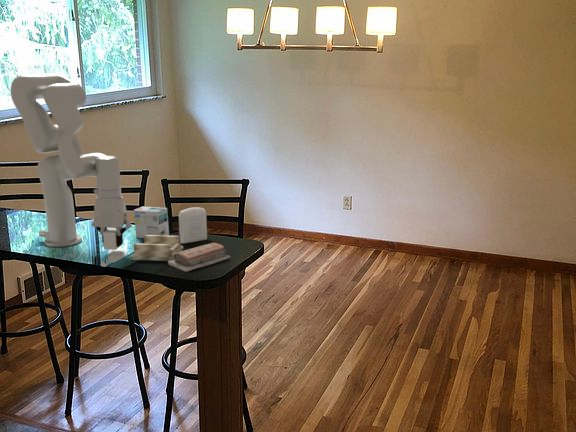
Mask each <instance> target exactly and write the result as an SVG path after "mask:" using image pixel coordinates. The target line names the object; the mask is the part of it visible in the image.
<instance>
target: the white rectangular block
mask: <svg viewBox="0 0 576 432" xmlns="http://www.w3.org/2000/svg"><path fill="white" fill-rule="evenodd" d="M116 236H117V231H116V228H107V230H106V231H104V232H103V240H104V245H103V249H104V250H107V251H108V250H110V251H116V250H117V249H119V248H120V247H117V242H116ZM123 244H124V242H123V243H122V245H123Z"/></svg>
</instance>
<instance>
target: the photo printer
mask: <svg viewBox="0 0 576 432" xmlns="http://www.w3.org/2000/svg"><path fill="white" fill-rule="evenodd" d="M207 225H208V223H207V211H206V209H205V208H203V207H199V206H196V207H194V206H193V207H188V208H185V209H182V210H180V211H178V232H179V242H181V244H189V243H194V242H200V241H206V240H208V228H207V227H208V226H207Z"/></svg>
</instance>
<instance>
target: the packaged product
mask: <svg viewBox="0 0 576 432" xmlns="http://www.w3.org/2000/svg"><path fill="white" fill-rule="evenodd" d="M226 253H227V250H226V249H225V246H224V245H223V244H220V243H217V242H210V243H207V244H202V245H199V246H196V247H193V248H188V249H185V250H184V249H183V250H182V251H180V252H177V253H175V255H174V256H175V258H174V259H173V260H170V261H167V264H168V265H169V266H171V267H173V268H175V269H178V270H180V271H183V272H186V273H187V272H190V271H193V270H195V269H199V268H203V267H206V266H207V267H208V266H209V265H213V264H216V263H218V262H219V263H220V262H222V261H224V260H229V259H231V256H230V255H228V254H226Z"/></svg>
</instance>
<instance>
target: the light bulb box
mask: <svg viewBox="0 0 576 432" xmlns="http://www.w3.org/2000/svg"><path fill="white" fill-rule="evenodd" d="M133 216H134V217H133V218H134V219H133V220H134V227H135V229H134V231H135V239H137V238H139V239H144V236H145V235H170V227H169V216H168V208H167V207H157V206H156V207H155V206H144V205H143V206H141V207H138V208H136V209H133Z"/></svg>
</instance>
